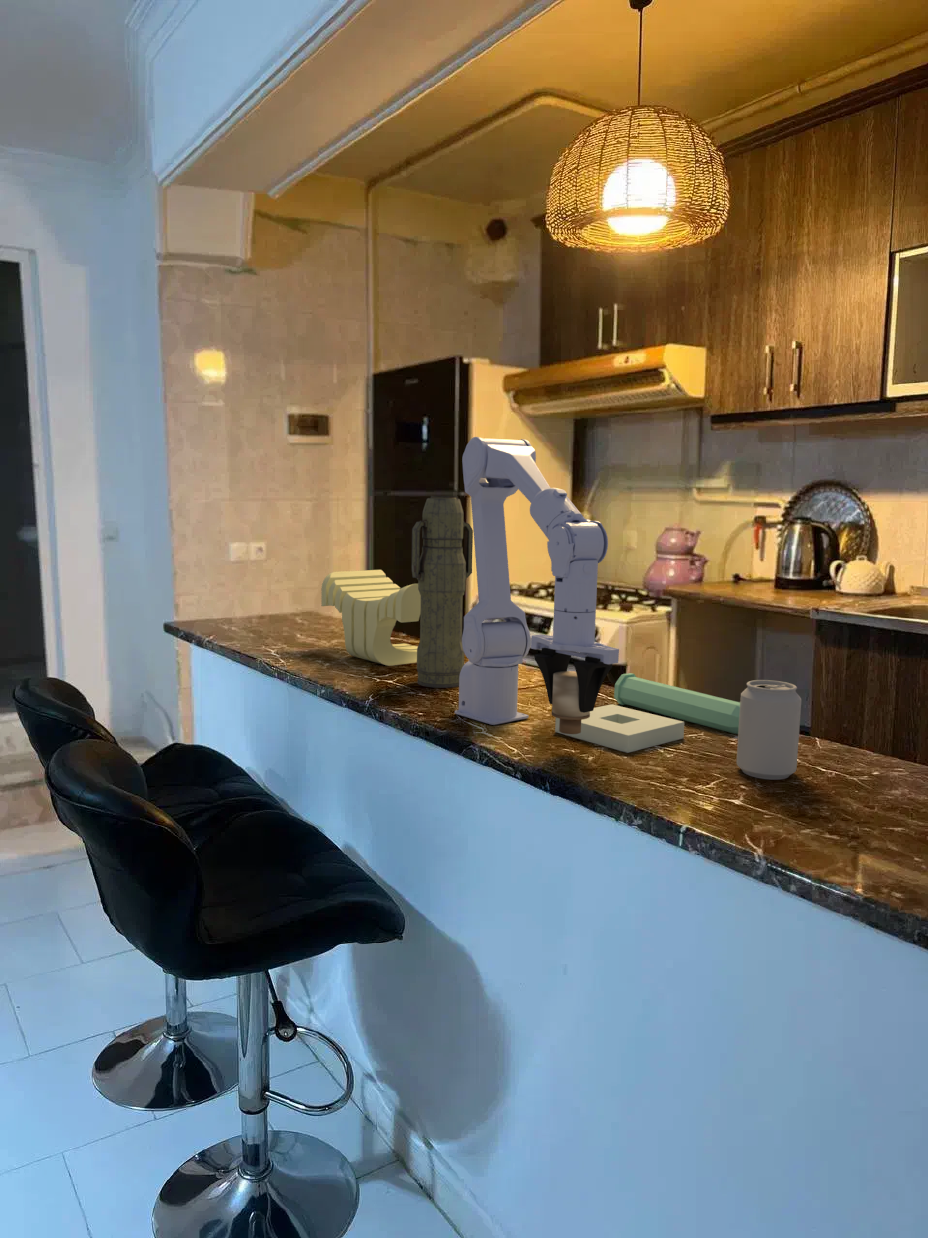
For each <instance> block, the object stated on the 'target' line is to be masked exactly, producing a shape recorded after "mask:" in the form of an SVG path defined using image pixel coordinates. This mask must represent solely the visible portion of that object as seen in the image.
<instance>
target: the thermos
mask: <svg viewBox="0 0 928 1238" xmlns="http://www.w3.org/2000/svg"><path fill="white" fill-rule="evenodd" d="M421 528H422V529H421ZM421 530H422V531H421ZM421 534H422V536H421ZM420 538H422V540H423V541H422V546H421V548H420V545H421V544H420V543H421V539H420ZM463 539H464V540H463ZM463 542H464V543H463ZM463 544H464V545H463ZM473 544H474V532H473V527H471V525H470V523H468V522H465V521H464V509H463V506H462V501H461V499H460V498H457V496H447V495H445V496H443V495H430V497H428V498H426V501H425V503H424V506H423V510H422V520H419V521H416V522H415V524H414V526H413V527H412V528H411V574H412V575H411V576H412V578H413V579H414V578H415V579H416V580H417V584H418V590H419V592H420V595H421V610H420V617H419V620H420V622H419V623H420V625H419V628H420V629H419V631H420V632H419V643H418V648H417V662H416V671H417V682H416V683H417V685H419V686H422V687H426V688H439V689H440V688H441V689H442V688H443V689H445V688H446V689H447V688H456V687H459V677H460V672H461V669H462V667H463V666H464V664H465V653H464V651H463V647H462V635H463V596H464V595H465V591H466V580H467V578H469V577H470V576H471V575H472V574H473ZM420 549H421V552H420ZM420 553H421V554H420Z"/></svg>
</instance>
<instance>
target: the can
mask: <svg viewBox="0 0 928 1238" xmlns="http://www.w3.org/2000/svg"><path fill="white" fill-rule="evenodd" d="M746 686H747V687H746V688H744V690H743V691H742V692H740V698H739V699H740V701H739V702H740V715H739V731H738V734H737V750H736V766H737V767H738V768H740V769H741V771H742V773H744V774H746V775H748V776H750V777H753V778H756V779H760V780H761V779H762V780H772V781H773V780H775V781H776V780H785V779H788V778H789V777H790V776H791V775H793V774H794V773H795V772H796V771H797V769H798V768H797V766H798V754H799V753H798V752H799V741H800V740H799V739H800V738H799V737H800V726H801V710H802V698H801V696H800V695H799V694H798V693H797V691H796V690H798V687H797V686H796V684H793V683H791V682H790V683H789V682H786V681H779V680H769V679H755V680H750V681H747V682H746Z"/></svg>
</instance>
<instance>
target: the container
mask: <svg viewBox="0 0 928 1238" xmlns="http://www.w3.org/2000/svg"><path fill="white" fill-rule="evenodd" d="M613 692H614V694H613V698H614V699H615V701H616V702H617V703H618V705H621V706H624V705H627V706H631V707H634V708H638V709H642V710H646V711H650V712H652V713H656V714H659V715H664V716H668V717H669V718H670V717H671V718H673V719H674V718H675V719H677V720H680V721H682V720H683V721H684V722H689V723H693V724H697V725H700V726H705V727H708V728H712V729H716V730H720V731H723V732H728V733H731V734H737V735H738V731H739V715H740V701H736V700H731V699H726V698H723V697H718V696H714V695H711V694H707V693H702V692H699V691H695V690H691V689H687V688H686V689H685V688H681V687H678V686H675V685H670V684H666V683H662V682H658V681H653V680H651V679H650V680H648V679H645V678H642V677H637V676H636V674H635V673H631V672H629V673H623V674H621V675H620V676H619V678H618V679H617V680H616V682H615V684H614V690H613Z"/></svg>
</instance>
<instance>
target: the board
mask: <svg viewBox="0 0 928 1238" xmlns="http://www.w3.org/2000/svg"><path fill="white" fill-rule="evenodd" d="M554 724H555V726H554V727H555V728H554V732H555V733H558V734H561V735H565V736H568V737H571V738H574V739H578V740H581V741H585V742H589V743H592V744H595V745H599V746H603V747H606V748H608V749H609V748H610V749H614V750H617V751H620V752H623V753H626V754H628V753H632V752H636V751H640V750H643V749H648V748H651V747H655V746H659V745H663V744H666V743H671V742H674V741H678V740H683V739H684V738H685V736H684V735H685V721H684V720H683V721H682V720H680V719H676V718H675V719H674V718H670V717H666V716H661V715H658V714H652V713H649V712H645V711H641V710H636V709H633V708H628V707H623V706H622V705H621V706H620V705H617V704H607V705H602V706H596V707H594V709H593V711H590V717H589V718H587V719H582V720H581V733H578V734H565V733H561V732H560V731H559V724H560V718H556V717H555V723H554Z"/></svg>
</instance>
